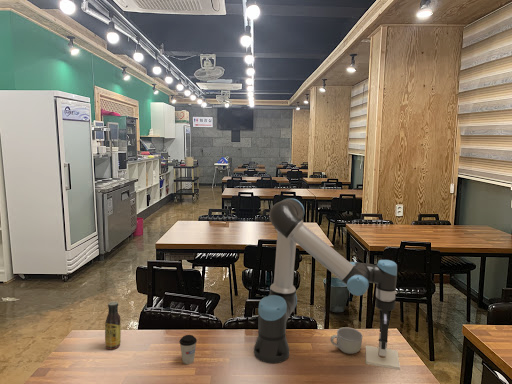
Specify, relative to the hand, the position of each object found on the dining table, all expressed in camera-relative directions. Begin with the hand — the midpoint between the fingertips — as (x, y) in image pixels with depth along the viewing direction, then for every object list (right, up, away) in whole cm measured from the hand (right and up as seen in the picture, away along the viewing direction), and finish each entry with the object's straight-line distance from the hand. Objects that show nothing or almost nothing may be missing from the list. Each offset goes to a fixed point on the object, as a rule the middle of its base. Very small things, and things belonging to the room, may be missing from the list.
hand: (382, 351), depth 153 cm
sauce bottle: (-115, -1, +7) cm, 115 cm away
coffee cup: (-80, -3, -3) cm, 80 cm away
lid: (0, -3, 0) cm, 3 cm away
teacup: (-14, -3, +7) cm, 16 cm away
